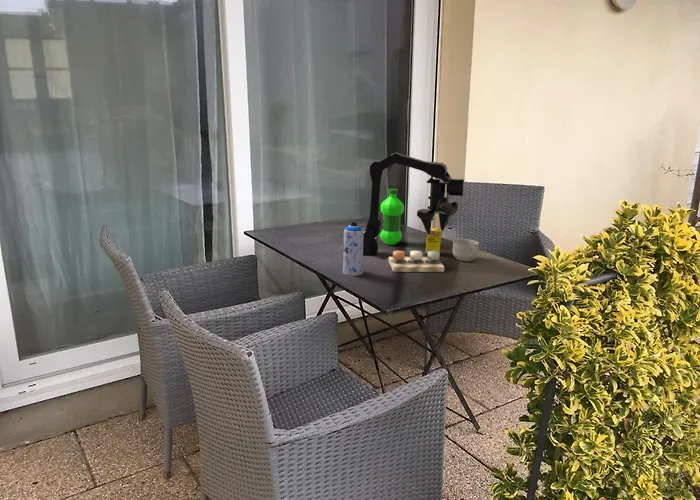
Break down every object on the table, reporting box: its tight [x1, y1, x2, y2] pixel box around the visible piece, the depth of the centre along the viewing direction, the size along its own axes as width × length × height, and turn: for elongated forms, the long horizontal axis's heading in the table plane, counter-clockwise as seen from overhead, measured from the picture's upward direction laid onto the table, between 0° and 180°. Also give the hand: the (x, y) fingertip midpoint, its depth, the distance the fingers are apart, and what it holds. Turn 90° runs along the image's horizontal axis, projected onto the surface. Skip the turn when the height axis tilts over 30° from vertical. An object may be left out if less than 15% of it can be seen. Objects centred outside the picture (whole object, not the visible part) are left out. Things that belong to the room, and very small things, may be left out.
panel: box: [388, 256, 445, 273], centre depth 241 cm, size 20×14×2 cm
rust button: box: [392, 250, 406, 260], centre depth 239 cm, size 5×5×2 cm
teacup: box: [452, 238, 480, 262], centre depth 251 cm, size 14×11×8 cm
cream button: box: [409, 250, 423, 260], centre depth 240 cm, size 5×5×2 cm
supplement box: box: [425, 227, 442, 256], centre depth 259 cm, size 6×6×11 cm
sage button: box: [426, 251, 441, 260], centre depth 240 cm, size 5×5×2 cm
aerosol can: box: [342, 220, 365, 277], centre depth 229 cm, size 8×8×20 cm
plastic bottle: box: [379, 188, 405, 246], centre depth 272 cm, size 10×10×25 cm
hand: (435, 231), depth 247 cm, fingers open, 9 cm apart
